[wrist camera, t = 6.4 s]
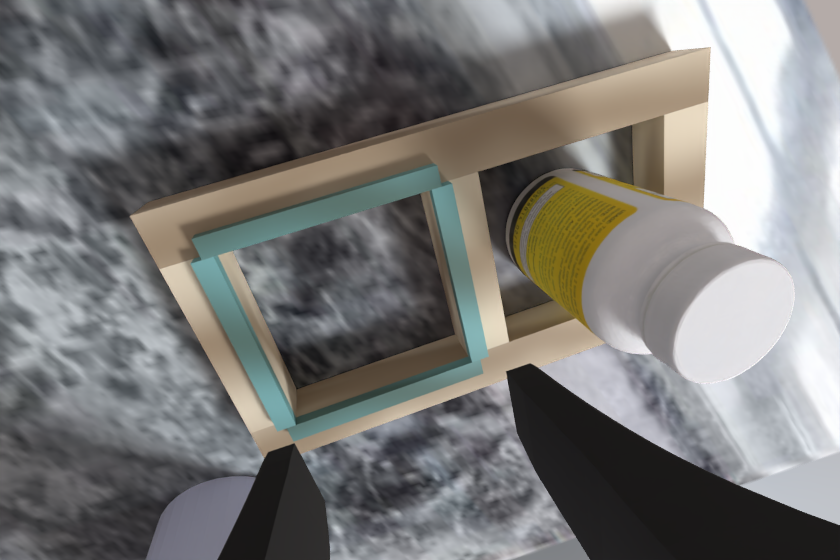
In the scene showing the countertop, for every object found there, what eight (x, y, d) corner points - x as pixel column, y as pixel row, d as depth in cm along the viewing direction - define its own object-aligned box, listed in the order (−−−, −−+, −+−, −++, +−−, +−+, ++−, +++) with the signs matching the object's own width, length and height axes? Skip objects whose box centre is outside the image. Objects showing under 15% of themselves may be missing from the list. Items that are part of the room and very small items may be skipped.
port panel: (669, 292, 24) (706, 313, 22) (271, 434, 22) (267, 474, 20) (672, 50, 19) (721, 46, 17) (148, 202, 17) (124, 220, 14)
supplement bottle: (506, 290, 22) (642, 426, 13) (497, 180, 20) (653, 257, 11) (607, 263, 23) (798, 376, 14) (609, 155, 20) (840, 208, 12)
